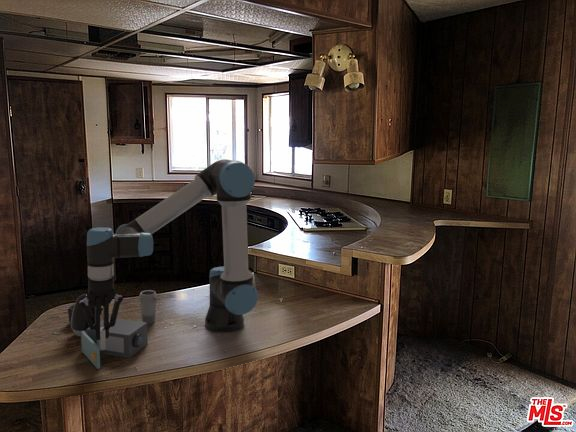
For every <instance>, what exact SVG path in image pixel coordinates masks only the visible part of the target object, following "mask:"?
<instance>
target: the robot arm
mask: <svg viewBox="0 0 576 432" xmlns="http://www.w3.org/2000/svg"><path fill="white" fill-rule="evenodd" d="M255 184H256V181H255V174H254V172H253V170H252V168H251V167H250V166H249V165H247V164H246V163H244V162H242V161H239V160H235V159H234V160H232V159H219V160H216V161H215V162H212V163H211V164H210V165H208V166H207V167H206V168H204V169H203V170H201V171H200V172H199V173H197V174H196V175H195V176H194V179H193V180H192V181H190V182H189V183H187V184H185V185H184V186H183V187H181V188H180V189H178V190H177V191H175V192H174V193H172V194H171V195H169V196H167V197H166V198H165V199H163V200H161V201H160V202H159V203H156V205H154V206H152V207H151V208H150V209H148V210H147V211H145V212H144V213H143V214H141V215H139V216H138V217H137V218H134V220H132V221H130V222H128V223H124V224H121V225H119V227H117V229H116V231H115V233H114V229H112V228H111V227H103V226H101V227H93V228H90V229H88V230H87V233H86V256H87V258H86V259H87V277H88V279H87V293H86V294H87V297H86V298H85V299H83V300H80V301H79V303H80V305H81V307H82V308H83V309H84V312H85V315H86V318H87V321H88V325H89V327H90V330H95V335H96V339H97V340H99V347H100V350H106V338H109V328H110V327H113V326H115V322H116V318H117V317H118V313H119V309H120V306H121V303H122V302H123V300H124V297H123V295H121V294H117V293H116V290H115V278H114V274H115V272H114V271H115V270H114V259H119V258H135V257H136V258H139V257H140V258H141V257H142V258H143V257H145V256H146V257H148V256H151V255H152V254H153V252H154V238H153V234H154V233H155V232H157V231H158V230H160V229H161V228H163V227H165V226H166V225H167V224H169V223H170V222H172V221H174V220H175V219H176V218H178V217H179V216H180V215H182V214H184V213H185V212H187V211H188V210H189V209H191V208H192V207H194V206H195V205H197V204H198V203H200V202H201V201H203V200H204V199H205V198H212V197H214V196H215V195H216V201H217V202H218V203H219V204H220V206H221V222H222V246H223V247H222V248H223V266H217V267H213V268H211V269H210V270H209V277H208V278H209V306H208V309H207V312H206V315H205V318H204V326H205V328H206V329H208V330H210V331H213V332H217V333H218V332H219V333H227V332H235V331H238V330H240V329H241V328H243V327H244V325H245V318H244V315H247V314H248V313H249V312H251V311H252V310H253V309H254V308H255V307H256V305H257V303H258V301H259V294H258V290H257V289H256V287H254V275H253V274H254V273H253V272H252V271H251V270H249V246H248V244H249V243H248V240H249V239H248V217H247V214H248V213H247V212H248V211H247V210H248V209H247V204H248V203H249V202H250V201H251V200H252V199H251V192H252V190H254V188H255V187H254V186H255ZM113 300H114V302H113V307H112V311H111V315H110V313H109V312H110V311H109V309H110V304H111V303H112V301H113ZM88 301H90V302H91V303H92V304H93V305H94V307H95V325H94V324H93V322H92V319H91V316H90V313H89V309H88V307H87V305H88ZM100 307H102V308H103V310H102V314H103V316H102V317H103V319H104V327H101V328H100ZM109 315H110V316H109ZM109 317H110V322H109Z"/></svg>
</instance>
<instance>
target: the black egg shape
mask: <svg viewBox="0 0 576 432" xmlns="http://www.w3.org/2000/svg"><path fill="white" fill-rule="evenodd" d="M87 294H88V293H84V294H81V295H79V296H78V297H77V299H76V300H75V303H74V304H75V305H74V304H73V305H74V308H73V312H72V317H71V324H70V328H71V330H72V332H73V334H75V336H77V337H79V338H81V331H85V333H86V334H87V332H86V329H87V328H89V325H88V321H87V318H86V315H85V312H84V309H83V308H82V307H81V305H80V303H79V301H80V300H83V299H85V298H86V297H87ZM87 307H88V309H89V313H90V316H91V319H92V322H93V324H95V307H94V305H93V304H92V303H91V302H90V301H88V305H87ZM101 320H102V315H101V316H100V321H101Z"/></svg>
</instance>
